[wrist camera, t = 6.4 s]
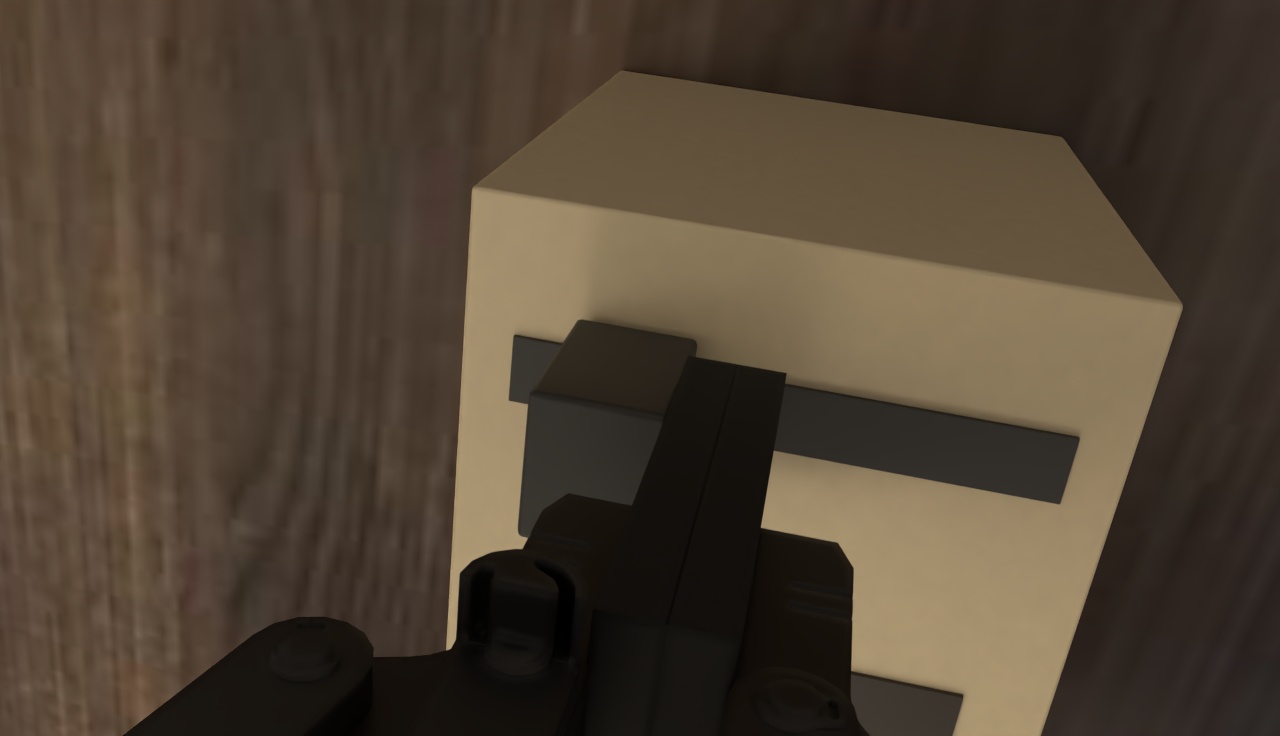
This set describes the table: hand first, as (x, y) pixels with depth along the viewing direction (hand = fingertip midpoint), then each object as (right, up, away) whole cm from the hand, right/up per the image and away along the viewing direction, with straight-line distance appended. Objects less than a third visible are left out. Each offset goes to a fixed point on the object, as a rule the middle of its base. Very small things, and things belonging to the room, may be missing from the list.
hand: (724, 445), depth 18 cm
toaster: (+3, +1, +14) cm, 14 cm away
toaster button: (-1, +1, +1) cm, 2 cm away
